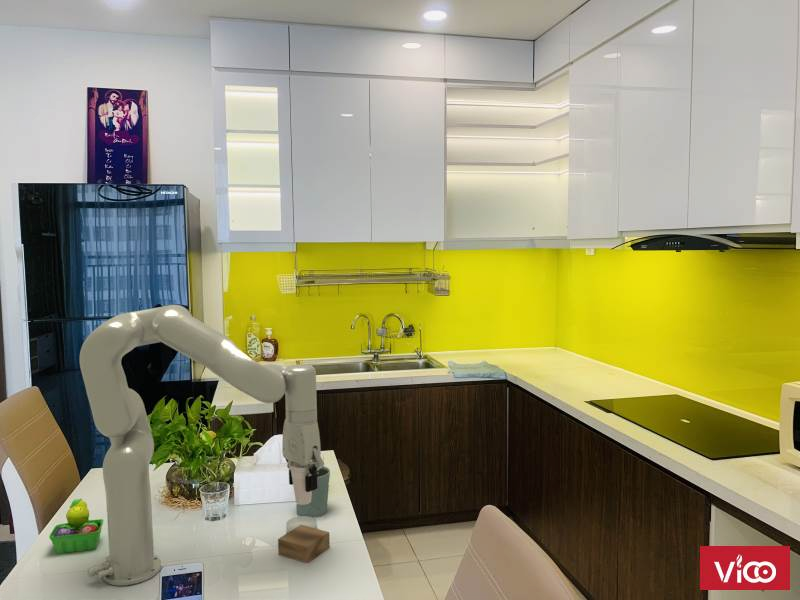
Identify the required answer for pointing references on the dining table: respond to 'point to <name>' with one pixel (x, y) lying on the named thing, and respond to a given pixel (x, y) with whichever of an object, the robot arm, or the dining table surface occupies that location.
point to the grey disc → (300, 522)
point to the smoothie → (300, 483)
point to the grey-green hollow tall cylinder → (317, 496)
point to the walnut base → (303, 543)
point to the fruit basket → (76, 530)
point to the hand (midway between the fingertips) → (303, 486)
